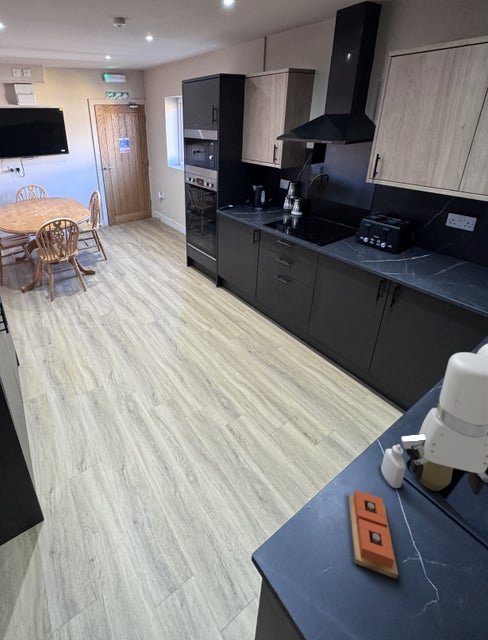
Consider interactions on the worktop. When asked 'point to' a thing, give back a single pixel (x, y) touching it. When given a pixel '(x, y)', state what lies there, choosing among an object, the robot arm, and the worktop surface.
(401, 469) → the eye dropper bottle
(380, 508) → the pad
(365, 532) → the orange square ring block
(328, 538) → the worktop surface
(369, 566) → the base board
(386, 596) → the worktop surface
